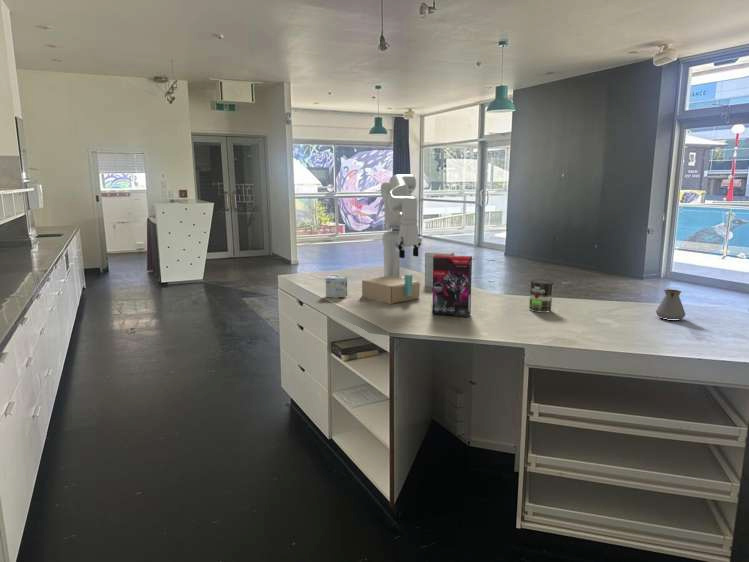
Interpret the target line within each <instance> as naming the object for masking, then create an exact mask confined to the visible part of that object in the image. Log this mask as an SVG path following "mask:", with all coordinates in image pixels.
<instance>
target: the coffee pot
mask: <svg viewBox="0 0 749 562" xmlns="http://www.w3.org/2000/svg"><path fill="white" fill-rule="evenodd" d="M663 291H664V293H665V295H664V297H663V299H662V300H661V301H660V304H659V306H658V307H657V309H656V310H655V313H656V315H657V316H658V317H659V318H660V317H662V318H667V319H680V320H682V319H684V318H685V316H686V312H685V310H684V309H685V308H684V305H683V304H682V301H681V297H680V296H681V295H680V294H681V293H682V291H681V290H679V289H678V290H677V289H669V288H668V289H664V290H663Z"/></svg>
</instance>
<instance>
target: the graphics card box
mask: <svg viewBox="0 0 749 562" xmlns="http://www.w3.org/2000/svg"><path fill="white" fill-rule="evenodd" d="M472 266H473V256H472V255H455V254H454V255H435V256H434V257H433V287H432V306H431V307H432V308H431V309H432V310H431V312H432V315H437V314H438V316H440V315H441V316H451V317H452V316H453V317H463V318H468V317H469V316H470V315H471V308H472V270H473V269H472V268H473V267H472Z"/></svg>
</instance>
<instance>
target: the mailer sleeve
mask: <svg viewBox="0 0 749 562" xmlns="http://www.w3.org/2000/svg"><path fill="white" fill-rule="evenodd" d="M418 282H419V281H418V280H413V279H412V283H418ZM401 285H405V279H404V278H399V277H394V276H384V275H383V276H377V277H374V278H367V279H362V280H361V297H362V296H363V297H362V298H365V297H366V298H365V299H369V298H370V299H369V300H374V301H377V302H382V303H385V304H388V305H394V304H398V303H402V302H407V301H412V300H416V299H419V297H416V298H412V299H407V300H402V301H397V302H392V287H396V286H401Z"/></svg>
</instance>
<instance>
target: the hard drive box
mask: <svg viewBox="0 0 749 562" xmlns="http://www.w3.org/2000/svg"><path fill="white" fill-rule="evenodd" d="M435 255H454V256H455V252H445V251H443V252H441V251H428V252H425V253H424V287H427V286H428V287H429V288H433V257H434V256H435ZM428 287H427V288H428Z"/></svg>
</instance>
